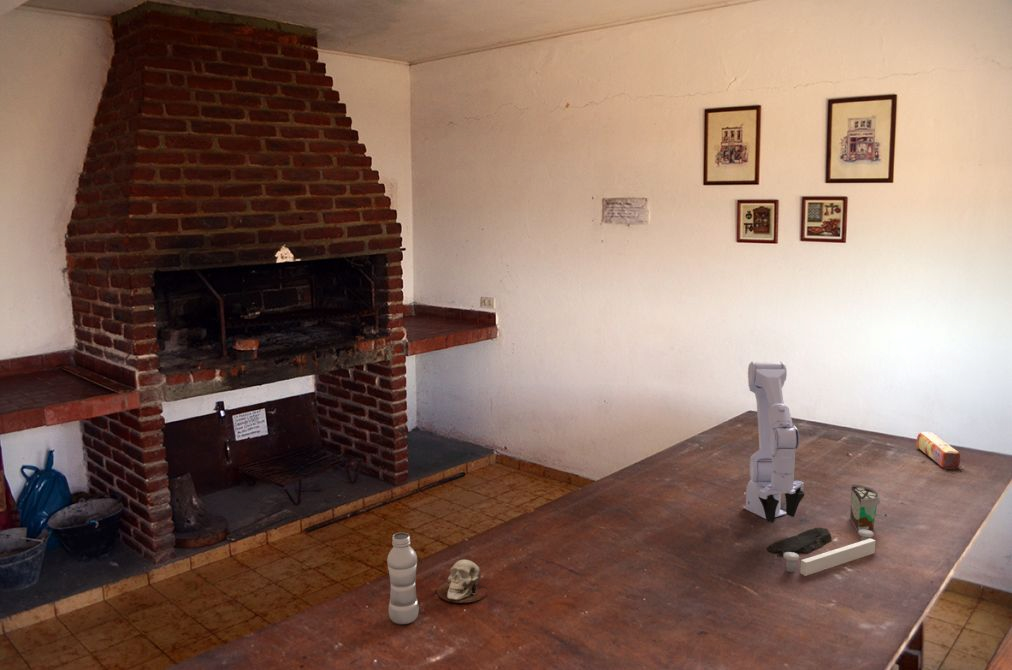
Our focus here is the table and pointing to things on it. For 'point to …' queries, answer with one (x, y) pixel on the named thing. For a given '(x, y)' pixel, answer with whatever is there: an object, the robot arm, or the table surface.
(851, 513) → the food container
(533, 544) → the table surface
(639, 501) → the table surface
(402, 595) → the plastic bottle
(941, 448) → the snack package
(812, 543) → the wood
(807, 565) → the cream long bar
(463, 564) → the skull
